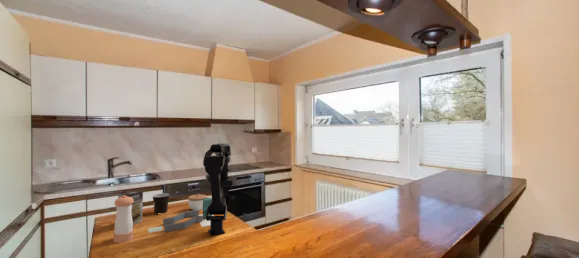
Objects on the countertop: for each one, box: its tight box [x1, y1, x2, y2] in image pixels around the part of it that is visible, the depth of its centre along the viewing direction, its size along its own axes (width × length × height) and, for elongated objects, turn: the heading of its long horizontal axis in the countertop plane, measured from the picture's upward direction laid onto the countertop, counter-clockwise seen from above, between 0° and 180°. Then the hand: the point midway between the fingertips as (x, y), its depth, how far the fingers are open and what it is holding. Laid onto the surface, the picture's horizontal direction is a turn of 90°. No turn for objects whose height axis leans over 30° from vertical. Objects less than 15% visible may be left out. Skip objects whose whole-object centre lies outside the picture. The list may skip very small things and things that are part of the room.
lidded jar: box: [187, 193, 208, 212], centre depth 151 cm, size 11×11×9 cm
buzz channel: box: [147, 210, 215, 234], centre depth 128 cm, size 19×32×4 cm, turn 120°
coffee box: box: [117, 190, 144, 226], centre depth 126 cm, size 9×6×16 cm
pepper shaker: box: [112, 195, 134, 244], centre depth 108 cm, size 7×7×19 cm
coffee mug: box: [152, 193, 170, 215], centre depth 143 cm, size 12×9×10 cm
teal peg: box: [202, 197, 212, 219], centre depth 136 cm, size 4×4×10 cm
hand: (222, 196), depth 133 cm, fingers open, 9 cm apart
